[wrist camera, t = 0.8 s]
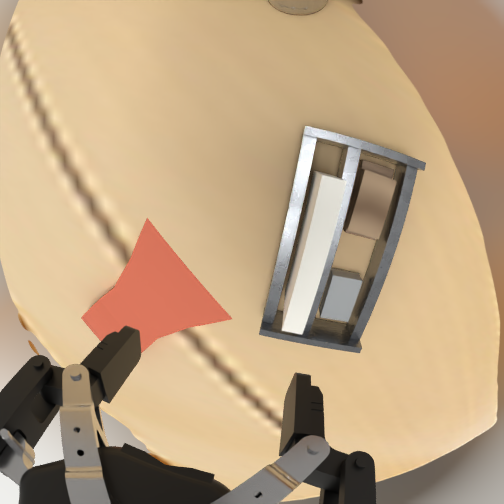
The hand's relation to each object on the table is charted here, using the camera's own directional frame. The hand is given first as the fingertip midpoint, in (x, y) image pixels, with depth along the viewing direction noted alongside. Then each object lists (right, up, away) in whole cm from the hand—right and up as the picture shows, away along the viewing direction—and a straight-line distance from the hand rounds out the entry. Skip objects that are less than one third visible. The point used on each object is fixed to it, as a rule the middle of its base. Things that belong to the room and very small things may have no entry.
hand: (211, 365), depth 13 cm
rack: (+14, +7, +25) cm, 30 cm away
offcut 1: (+15, 0, +28) cm, 32 cm away
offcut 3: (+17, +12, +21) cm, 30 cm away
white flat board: (+10, +8, +26) cm, 29 cm away
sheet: (-17, -3, +35) cm, 39 cm away
